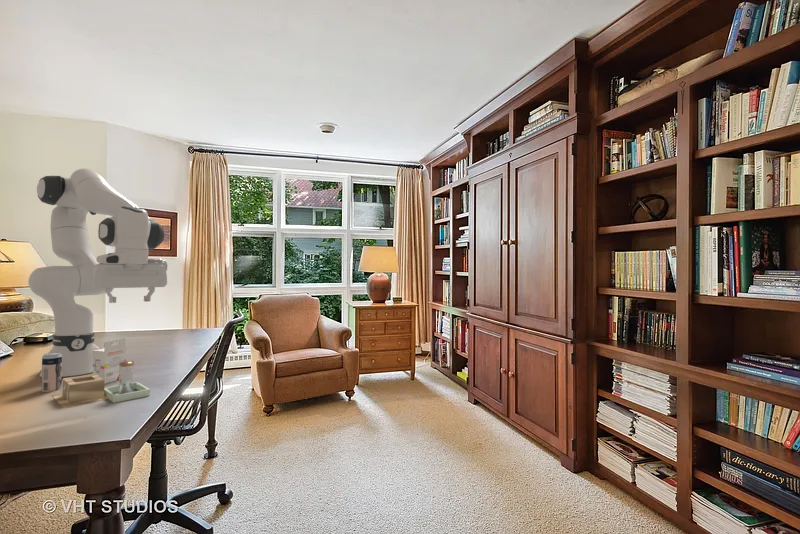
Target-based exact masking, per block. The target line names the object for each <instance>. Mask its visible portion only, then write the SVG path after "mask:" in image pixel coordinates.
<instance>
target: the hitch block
mask: <svg viewBox="0 0 800 534" xmlns="http://www.w3.org/2000/svg"><path fill="white" fill-rule="evenodd" d="M105 385H106V384H105V380H104V379H103V378H101V377H100V376H98V375H97V374H93V373H90V374H83V375H76V376H69V377H63V378H62V392H61V393H55V394H51V396H52V397H53V399H55V401H57V403H58V404H59V405H60V406H61V407H62V408H64V409H65V408H68V407H69V408H70V407H74V406H79V405H84V404H89V403H90V404H91V403H95V402H99V401H107V400H109V399H108V398H107V397H106V396H104V388H106V387H105Z"/></svg>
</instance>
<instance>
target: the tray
mask: <svg viewBox="0 0 800 534" xmlns="http://www.w3.org/2000/svg"><path fill="white" fill-rule="evenodd" d="M133 390H136V391H133V392H130V393H124V394H119V384H118V385H113V386H107V387H104V396H106V397H107V398H108V399H107V400H110V401H111V402H112V403H118V402H123V401H129V400H133V399H139V398H145V397H149V396H150V395H151V389H150V388H148V387H147V386H145V385H144V384H142V383H140V382H138V381H136V382H133ZM114 393H118V394H114Z"/></svg>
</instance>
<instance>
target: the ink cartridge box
mask: <svg viewBox="0 0 800 534" xmlns="http://www.w3.org/2000/svg"><path fill="white" fill-rule="evenodd" d="M115 343H116V344H115ZM113 344H114V345H113ZM126 361H127V347H126V338H124V337H122V338H116V339H112V340H108V341H106V340H105V341H104V342H103V348H99V349H98V350H93V372H92V374H97V375H98V376H100V377H101V378H103V379H104V380H105V385H106V384H108V383H112V382H115V381H119V363H121V362H126Z"/></svg>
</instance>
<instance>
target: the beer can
mask: <svg viewBox="0 0 800 534" xmlns="http://www.w3.org/2000/svg"><path fill="white" fill-rule="evenodd" d="M41 371H42V377H41V392H42V393H43V392H46V393H47V392H48V393H49V392H55V391H59V390H61V389H62V385H63V377H62V355H61V354H60V353H44V354H43V356H42V357H41Z"/></svg>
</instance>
